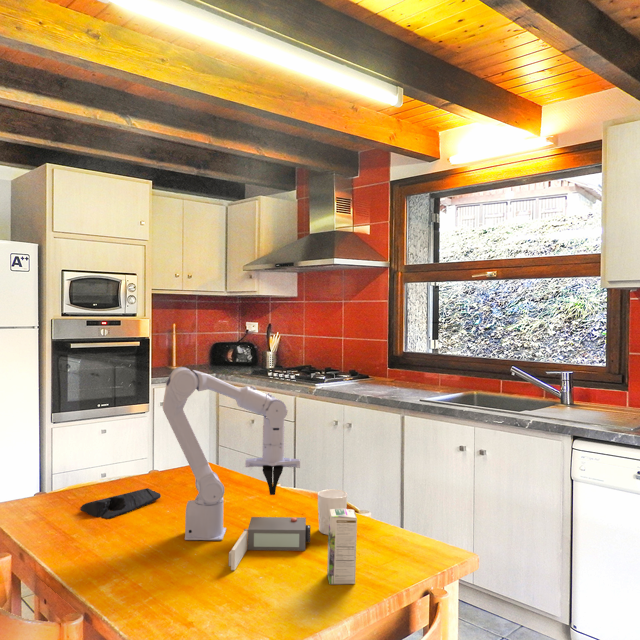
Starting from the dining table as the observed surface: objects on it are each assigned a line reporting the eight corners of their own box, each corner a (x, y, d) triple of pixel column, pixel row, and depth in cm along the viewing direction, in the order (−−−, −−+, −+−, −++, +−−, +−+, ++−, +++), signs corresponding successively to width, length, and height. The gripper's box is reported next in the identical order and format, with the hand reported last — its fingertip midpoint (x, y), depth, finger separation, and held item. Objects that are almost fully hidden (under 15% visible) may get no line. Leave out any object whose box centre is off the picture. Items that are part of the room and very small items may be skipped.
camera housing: (247, 550, 145) (247, 527, 145) (251, 536, 154) (251, 514, 154) (310, 550, 145) (310, 527, 145) (310, 536, 154) (310, 515, 154)
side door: (242, 547, 146) (242, 528, 146) (248, 547, 146) (248, 529, 146) (228, 569, 133) (228, 549, 133) (234, 570, 133) (234, 549, 133)
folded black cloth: (168, 503, 182) (168, 487, 182) (104, 522, 164) (105, 505, 164) (137, 493, 191) (137, 478, 191) (73, 511, 173) (73, 494, 173)
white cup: (344, 537, 154) (344, 499, 154) (314, 535, 156) (314, 496, 156) (348, 527, 162) (349, 490, 162) (320, 524, 164) (320, 488, 163)
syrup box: (326, 573, 133) (327, 508, 132) (353, 573, 133) (354, 508, 133) (328, 585, 127) (330, 517, 127) (356, 584, 127) (357, 516, 127)
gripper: (244, 445, 155) (243, 498, 155) (300, 446, 156) (299, 498, 156) (247, 440, 162) (246, 490, 162) (300, 441, 163) (299, 490, 163)
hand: (272, 493), depth 160 cm, fingers closed
